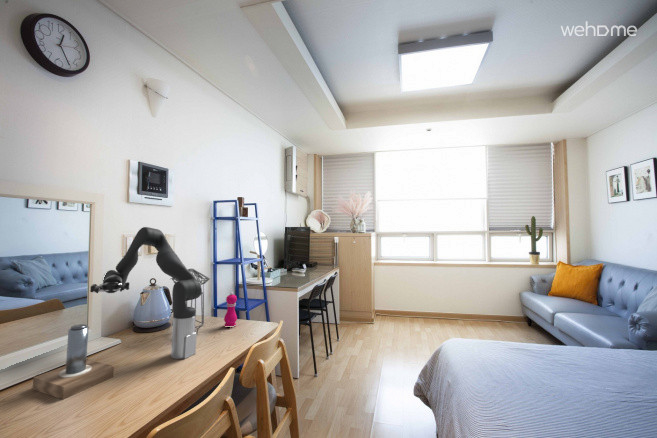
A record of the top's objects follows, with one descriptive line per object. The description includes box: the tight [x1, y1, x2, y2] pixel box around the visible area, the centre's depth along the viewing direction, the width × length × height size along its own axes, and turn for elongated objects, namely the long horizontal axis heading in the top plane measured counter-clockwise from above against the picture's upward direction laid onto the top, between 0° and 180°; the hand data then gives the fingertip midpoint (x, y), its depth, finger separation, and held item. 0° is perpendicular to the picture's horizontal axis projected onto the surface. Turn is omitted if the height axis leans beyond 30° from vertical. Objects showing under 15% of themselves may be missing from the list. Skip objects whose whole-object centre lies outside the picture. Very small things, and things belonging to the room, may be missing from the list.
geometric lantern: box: [170, 268, 211, 334], centre depth 157 cm, size 16×16×35 cm
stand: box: [32, 358, 115, 400], centre depth 105 cm, size 16×16×4 cm
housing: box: [65, 323, 90, 374], centre depth 106 cm, size 6×6×16 cm
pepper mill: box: [223, 291, 238, 327], centre depth 171 cm, size 7×7×20 cm
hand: (109, 289), depth 129 cm, fingers open, 8 cm apart
